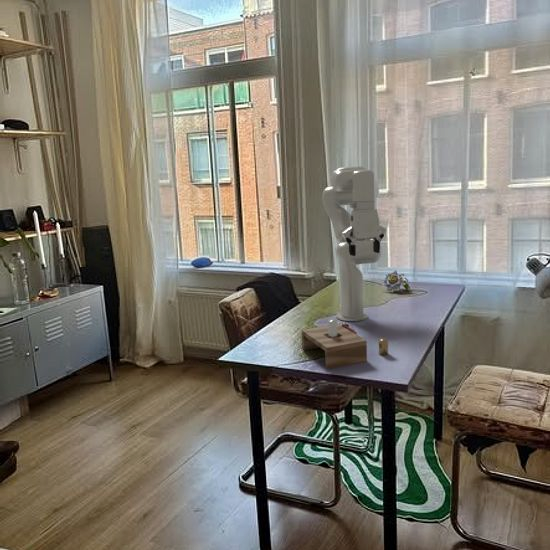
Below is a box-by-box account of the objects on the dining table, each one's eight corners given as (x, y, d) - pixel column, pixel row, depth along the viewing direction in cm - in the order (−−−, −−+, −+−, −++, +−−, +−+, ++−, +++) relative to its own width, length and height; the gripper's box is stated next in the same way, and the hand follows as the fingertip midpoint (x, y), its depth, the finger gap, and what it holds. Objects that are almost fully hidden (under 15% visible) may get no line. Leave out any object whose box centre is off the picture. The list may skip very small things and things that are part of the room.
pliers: (355, 324, 210) (355, 317, 210) (357, 341, 191) (356, 334, 190) (327, 324, 212) (326, 318, 211) (325, 341, 192) (324, 334, 192)
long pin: (327, 354, 178) (326, 320, 176) (335, 352, 179) (334, 318, 177) (331, 357, 175) (330, 322, 173) (339, 355, 176) (338, 321, 174)
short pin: (377, 353, 177) (376, 339, 176) (384, 351, 178) (384, 337, 177) (381, 356, 174) (381, 341, 173) (389, 354, 175) (389, 340, 174)
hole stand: (302, 349, 184) (301, 330, 183) (338, 342, 189) (337, 323, 187) (327, 368, 166) (326, 347, 164) (366, 361, 170) (366, 340, 169)
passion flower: (392, 303, 255) (377, 284, 253) (395, 293, 264) (381, 275, 263) (412, 292, 249) (396, 272, 248) (414, 282, 258) (399, 263, 257)
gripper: (346, 208, 180) (348, 258, 183) (390, 204, 185) (391, 252, 189) (336, 207, 187) (338, 255, 190) (379, 203, 192) (380, 250, 196)
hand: (364, 253), depth 190 cm, fingers open, 9 cm apart
